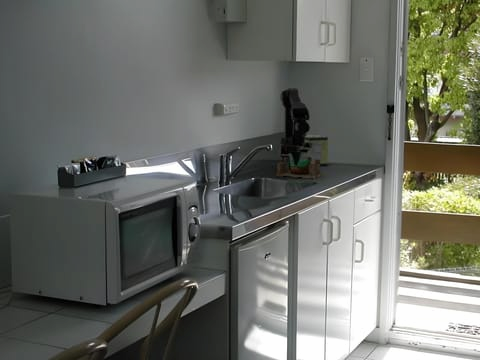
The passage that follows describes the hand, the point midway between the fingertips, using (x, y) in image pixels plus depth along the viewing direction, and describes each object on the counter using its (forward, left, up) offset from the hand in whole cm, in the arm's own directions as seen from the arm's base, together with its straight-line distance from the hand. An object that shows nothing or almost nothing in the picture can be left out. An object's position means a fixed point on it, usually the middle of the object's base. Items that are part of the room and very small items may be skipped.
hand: (298, 164), depth 351 cm
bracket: (0, 0, -6) cm, 6 cm away
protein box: (-42, -10, -6) cm, 43 cm away
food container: (+1, 0, -4) cm, 4 cm away
